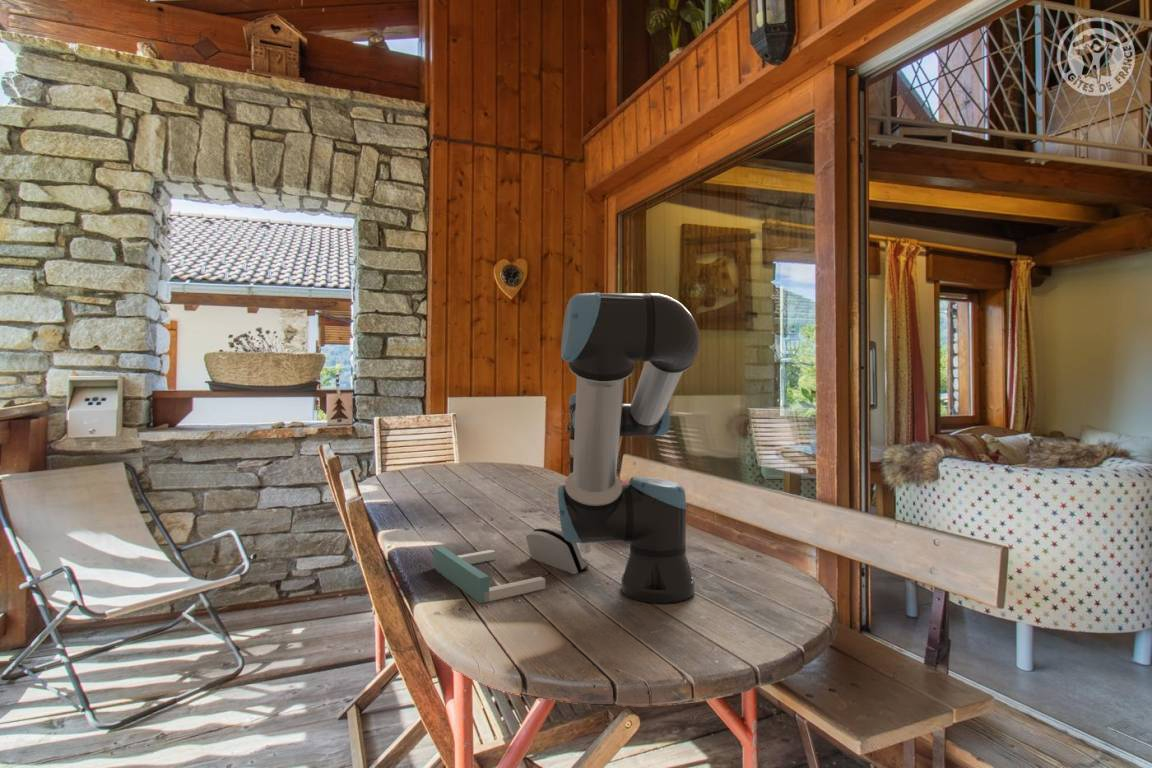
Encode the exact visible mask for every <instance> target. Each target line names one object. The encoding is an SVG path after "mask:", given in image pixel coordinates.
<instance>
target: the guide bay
mask: <svg viewBox="0 0 1152 768" xmlns="http://www.w3.org/2000/svg"><path fill="white" fill-rule="evenodd" d="M432 551H433V552H432V553H433V554H432V555H433V563H432V565H433V569H434V568H435V569H436V570H437V571H436V570H435V569H434V570H435V571H436V572H437V573H439V574H440V573H441V574H440V575H442V576H443V577H444V578H446V579H447V580H448V581H449V582H451V583H452V584H454V585H455V586H456V587H457V588H459V589H460V590H461V591H463V592H464V593H465V594H467V595H468V596H469V597H471V598H472V599H473V600H475V601H476V602H477V603H478V604H483V603H489V602H492V601H497V600H501V599H506V598H510V597H515V596H519V595H523V594H527V593H532V592H537V591H542V590H545V589H546V578H544V577H542V576H537V577H533V578H528V579H523V580H518V581H513V582H509V583H505V584H503V583H502V584H499V585H496V586H494V585H493V586H491V587H490V576H489V575H488V574H487V573H484V572H483V571H481V570H480V569H478V568H477V567H475V566H474V565H475V564H480V563H484V562H485V561H486V562H491V561H495V560H496V551H495V550H493V549H487V550H482V551H476V552H471V553H464V554H458V555H456V553H454V552H452V551H451V550H449V549H447V548H446V547H445V546H442V545H437V546H434V547H433V550H432Z"/></svg>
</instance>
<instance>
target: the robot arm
mask: <svg viewBox="0 0 1152 768" xmlns="http://www.w3.org/2000/svg"><path fill="white" fill-rule="evenodd" d="M561 335H562V336H561V342H560V343H561V345H560V356H561V359H562V361H564V362H566V363H568V369H569V371H570V372H571V373H572V374H573V375H575V376H576V390H575V393H573V394H571V395H570V396H569V406H568V409H569V454H570V455H571V456H570V458H569V473H570V474H569V475H568V476H567V477H566V480H565V483H564V484H562V485H559V486H558V487H557V501H558V503H557V505H558V511H559V521H560V529H561V531H562V534H563V537H564V539H565V540H566V541H568V542H575V543H578V545H579V546H578V549H579V551H580V553H581V552H582V553H584V554H588V553H589V554H590V553H591V543H594V544H596V543H628V542H629V553H628V554H629V555H628V556H627V560H626V564H625V569H624V573H623V574H622V576H621V582H620V583H621V585H620V586H621V591H622V594H624V595H626V596H627V597H628V596H629V598H630V597H631V599H633V598H634V599H633V600H637V601H639V600H640V602H644V603H650V602H651V603H652V604H669V603H668V602H675V603H678V602H677V601H680V602H683V601H682V600H684V601H686V600H685V599H687V598H689V599H691V598H692V597H693V596H694V595H695V581H694V579H695V578H694V577H693V576H692V572H691V568H690V564H689V561H688V558H687V553H686V551H687V550H686V548H687V547H686V546H687V509H688V507H687V499H686V496H687V495H686V491H685V488H684V487H683V486H682V485H681V484H679V483H678V482H675V481H671V480H667V479H662V478H657V477H651V476H650V477H649V476H633V477H631V478H629V479H630V481H629V485H622V482H623V481H622V480H621V479H620V477H619V476H618V475H617V469H618V468H617V466H618V459H619V457H618V456H619V455H618V454H619V445H620V444H619V443H620V437H650V438H653V437H658V436H659V437H660V436H661V437H662V436H665V435H667V434H668V433H669V430H670V424H671V416H670V409H669V407H668V405H669V403H670V401H671V399H672V397H673V395H674V393H675V391H676V388H677V386H678V384H679V381H680V380H681V377H682V375H683V373H684V372H685V371H687V370H689V368H691V366H692V365H693V364H694V362H695V360H696V359H697V357H698V354H699V350H700V346H701V339H700V338H701V336H700V331H699V327H698V324H697V322H696V320H695V318H694V317H693V315H692V314H691V312H690V311H689V310H688V309H687V307H685V306H684V305H683V304H682V303H681V302H679V301H678V300H677V299H674V298H673V297H670V296H668V295H665V294H661V293H657V292H656V293H654V292H653V293H652V292H651V293H650V292H649V293H636V292H635V293H634V292H633V293H632V292H631V293H628V292H627V293H624V292H623V293H622V292H611V293H610V292H607V293H606V292H599V291H595V292H590V293H589V292H588V293H576V294H574V295H573V296H571V297H570V298H569V300H568V303H567V306H566V308H565V313H564V318H563V325H562V334H561ZM635 362H644V364H643V367H642V369H641V373H640V376H639V378H638V382H637V385H636V389H635V392H634V395H633V397H632V400H631V403H623V399H624V397H623V396H624V386H625V380H626V379H627V378H629V377H631V376H632V374H633V373H634V371H635ZM693 594H694V595H693ZM692 595H693V596H692ZM691 596H692V597H691ZM690 597H691V598H690ZM687 600H688V599H687ZM651 603H650V604H651Z"/></svg>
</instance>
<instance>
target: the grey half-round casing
mask: <svg viewBox="0 0 1152 768" xmlns="http://www.w3.org/2000/svg"><path fill="white" fill-rule="evenodd" d="M525 539H526V541H527V547H528V553H529V555H530V556H529V557H530V559H532V560H535V561H537V562H540V563H543V564H546V565H548V566H550V565H551V567H553V568H556V569H558V568H559V569H558V570H561V569H562V570H561V571H563V570H564V572H566V571H567V572H566V573H569V574H571V573H572V575H576V574H579V570H583V569H584V570H587V571H590V570H589V569H590V566H589V562H587V561H584V560H583V557H582V554H581V551H579V546H578V544H577V543H575V542H568V541H566V540H565V539H564V537H563V534H562V530H559V529H558V528H554V527H549V526H540V527H535V528H534V529H533V530H531V531H530V532H528V534H527V535H526V536H525Z"/></svg>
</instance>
